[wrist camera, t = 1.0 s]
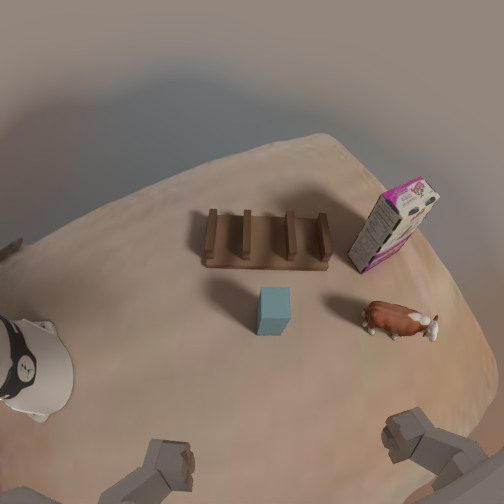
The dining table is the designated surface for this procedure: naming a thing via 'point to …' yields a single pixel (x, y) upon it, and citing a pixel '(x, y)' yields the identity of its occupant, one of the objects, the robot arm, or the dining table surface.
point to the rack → (267, 242)
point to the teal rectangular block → (273, 310)
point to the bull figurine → (399, 320)
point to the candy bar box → (392, 223)
